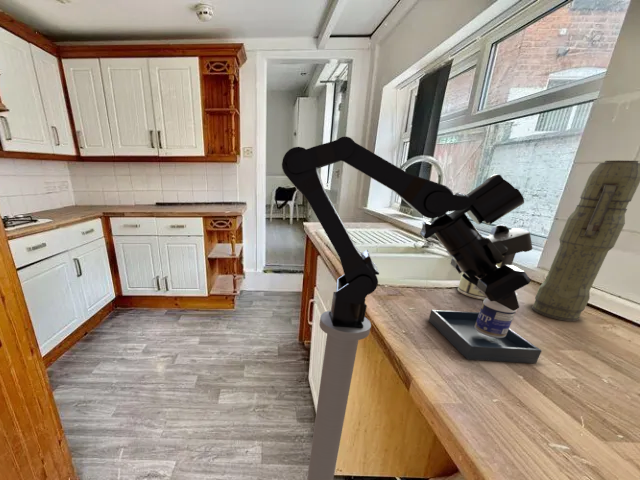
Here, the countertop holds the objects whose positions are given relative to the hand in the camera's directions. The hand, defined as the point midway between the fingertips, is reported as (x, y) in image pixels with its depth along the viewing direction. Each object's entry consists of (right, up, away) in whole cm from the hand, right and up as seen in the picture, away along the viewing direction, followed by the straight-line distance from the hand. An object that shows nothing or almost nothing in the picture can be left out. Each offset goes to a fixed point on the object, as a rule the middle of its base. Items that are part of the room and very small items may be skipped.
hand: (508, 303), depth 58 cm
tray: (-3, -8, +4) cm, 9 cm away
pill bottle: (-2, -6, +3) cm, 7 cm away
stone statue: (+26, -3, +18) cm, 32 cm away
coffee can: (+15, +1, +28) cm, 32 cm away
